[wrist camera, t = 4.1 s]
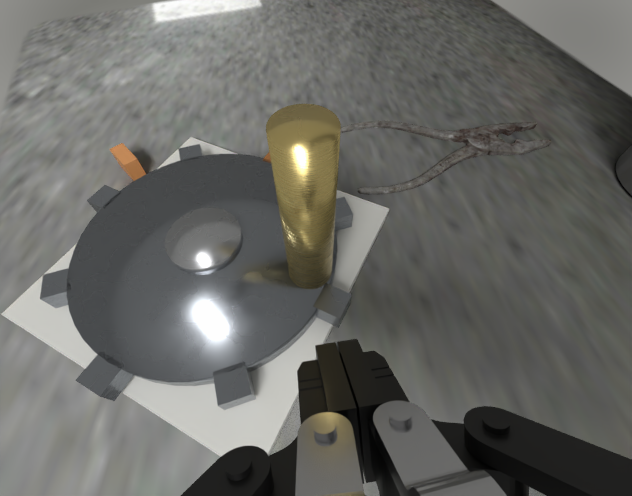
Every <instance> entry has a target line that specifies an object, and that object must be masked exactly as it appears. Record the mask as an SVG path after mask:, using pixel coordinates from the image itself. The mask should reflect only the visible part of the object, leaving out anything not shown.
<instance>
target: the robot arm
mask: <svg viewBox="0 0 632 496" xmlns="http://www.w3.org/2000/svg"><path fill="white" fill-rule="evenodd" d="M616 172H617V176H618V179H619V180H620V182H621V184H622V185H623V187H624V188H625V189H626V190H627V191H628V192H629V193H630V195H632V145H631V146H630V147H629V148H628V149H627V150H626V151H625V152H624V153H623V154H622V155H621V156H620V157H619V159H618V161H617V163H616ZM315 350H316V358H317V360H311V361H304V362H302V363H301V365H300V367H299V369H298V370H297V378H298V391H299V405H300V418H301V426H300V428H299V430H298V436H297V437H296V439H295V440H294V441H293V442H292V443H291V444H290V445H289V446H287V447H286V448H284V449H282V450H280V451H278V452H276V453H274V454H272V455H270V456H268V454H267V453H266V452H265V451H264V450H263V449H261V448H259V447H257V446H241V447H237V448H235V449H232V450H230V451H228V452H227V453H225V454H224V455H222V456H221V457H220V458H219V459H218V460H217V461H216V462H215V463H214V464H213V465H212V466H211V467H210V468H209V469H208V470H207V471H206V472H205V473H204V474H202V475H201V476H200V477H199V478H198V479H197V480H196V481H195V482H194V483H193V484H192V485H191V486H190V487H189V488H188V489H187V490H186V491H185V492H184V493H183V494H182V495H181V496H365V495H364V489H363V484H364V479H363V473H364V476H365V480H366V483H368V482H374V481H376V483H377V486H378V489H379V494H380V496H529V487H531V488H533V489H535V490H537V491H539V492H541V493H543V494H545V495H547V496H632V460H631V459H629V458H626V457H624V456H621V455H619V454H616V453H613V452H611V451H608V450H606V449H603V448H601V447H598V446H596V445H593V444H590V443H588V442H585V441H583V440H580V439H578V438H575V437H572V436H570V435H567V434H565V433H562V432H560V431H557V430H555V429H552V428H549V427H547V426H544V425H542V424H539V423H537V422H534V421H532V420H529V419H526V418H524V417H521V416H519V415H516V414H514V413H511V412H509V411H506V410H503V409H500V408H496V407H487V406H484V407H477V408H474V409H471V410H470V411H468V412H467V413H466V415H465V417H464V424H460V423H447V422H439V421H435V420H432V419H430V418H429V417H428V415H427V414H426V412H425V411H424V410H423V409H422V408H420V407H419V406H417V405H415V404H413V403H410V402H409V400H408V398H407V397H406V395H405V393H404V391H403V390H402V388H401V386H400V384H399V383H398V381H397V379H396V377H395V376H394V374H393V372H392V370H391V369H390V368H389V365H388V363H387V362H386V360H385V358H384V357H383V356H381V355H380V354H378V353H377V352H375V351H369V352H363V351H362V349H361V347H360V345H359V342H358V340H357V339H353V340H347V341H340V342H337V343H335V342H334V343H327V344H320V345H315Z"/></svg>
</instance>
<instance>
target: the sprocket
mask: <svg viewBox="0 0 632 496" xmlns="http://www.w3.org/2000/svg"><path fill="white" fill-rule="evenodd" d="M340 129H341V127H340V121H339V119H338V118H337V116H336V115H335V114H334V113H333V112H332V111H330V110H328V109H326V108H324V107H322V106H318V105H313V104H296V105H291V106H287V107H284V108H282V109H280V110H278V111H277V112H275V113H274V114H273V115H272V116H271V117H270V118H269V120H268V122H267V125H266V133H267V139H268V145H269V153H268V154H267V155H266V156H265V157H264V158H261V157H255V156H250V155H241V154H212V155H204V154H203V151H202V149H201V146H200V144H197V145H192V146H188V147H183V148H178V149H179V156H180V161H177V162H174V163H171V164H168V165H166V166H163V167H161V168H158V169H156V170H154V171H152V172H150V173H148V174H146V175H144V176H142V177H140V178H139V179H137V180H135V181H134V182H132V183H131V184H129V185H128V186H126V187H125V188H123V189H122V190H121V191H118V190H115V189H113V188H111V187H108V186H106V185H104V186H103V187H102V188H101V189H100V190H98V191H97V192H96V193H95V194H94V195H93V196H92V197H90V198H89V199H88V200H87V201H88V202H89V204H90V205H91V206H92V207H93V208H94V209H95V210H96V212H97V214H96V215H95V216H94V217H93V219H92V220H91V221H90V222H89V224H88V225H87V227H86V229H85V230H84V232H83V233H82V235H81V237H80V239H79V241H78V243H77V245H76V247H75V249H74V252H73V255H72V258H71V261H70V264H69V268H67V269H63V270H59V271H56V272H52V273H48V274H44V275H43V279H42V286H41V294H40V299H41V300H43V301H44V302H46V303H48V304H49V305H51V306H53V307H54V308H59V307H62V306H66V305H68V307H69V312H70V314H71V317H72V320H73V322H74V325H75V327H76V329H77V330H78V332H79V334H80V335H81V337H82V339H83V340H84V341H85V342H86V343H87V344H88V345H89V347H90V348H91V349H92V350H93V351H94V352H95V353H96V354H97V356H96V357H95V358H94V359H93V360H92V362H91V363H90V364H89V365H88V366H87V367H86V369H85V370H84V371H83V372H82V373H81V375H80V376H79V377H78V378H77V379H76V381H77V382H79V383H80V384H82V385H84V386H85V387H87V388H88V389H90V390H91V391H93V392H94V393H96V394H97V395H99V396H100V397H104V398H107V399H110V400H113V401H115V399H116V398H117V397H118V395H119V394H120V393H121V392H122V390H123V389H124V388H125V386H126V385H127V384H128V382H129V381H130V380H131V378H132V377H133V376H136V377H139V378H142V379H145V380H148V381H151V382H155V383H160V384H167V385H173V386H198V385H206V384H213V383H214V384H215V391H216V398H217V404H218V406H219V407H220V408H222V409H224V410H226V409H229V408H232V407H235V406H238V405H241V404H243V403H246V402H249V401H252V400H255V399H256V396H255V391H254V386H253V381H252V377H251V371H254V370H256V369H258V368H259V367H261V366H263V365H265V364H267V363H268V362H270V361H272V360H274V359H275V358H276V357H278V356H279V355H280V354H282V353H283V352H284V351H286V350H287V349H289V348H290V347H291V346H292V345H293V344H294V343H295V342H296V341H297V340H298V339H299V338H300V337H301V336H302V335H303V334H304V333H305V332H306V331H307V329H308V328H309V327H310V326H311V325H312V323H313V322H314V321H315V319H316V318H319V319H321V320H324V321H326V322H328V323H330V324H332V325H334V326H336V327H338V328H339V326H340V324H341V322H342V320H343V318H344V316H345V314H346V312H347V309H348V307H349V305H350V302H351V297H352V294H350V293H348V292H345V291H343V290H341V289H339V288H336V287H334V286H332V283H333V280H334V276H335V268H336V259H337V235H336V231H338V230H342V229H345V228H349V227H352V221H353V213H352V211H351V209H350V207H349V205H348V203H347V201H346V199H345V197H341V198H337V199H336V195H337V178H338V162H339V145H340Z"/></svg>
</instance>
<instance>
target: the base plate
mask: <svg viewBox="0 0 632 496" xmlns="http://www.w3.org/2000/svg"><path fill="white" fill-rule="evenodd" d="M197 144H200V146H201V149H202V151H203V154H204V155H212V154H236V153H234V152H231V151H228V150H225V149H223V148H220V147H217V146H214V145H211V144H209V143H206V142H203V141H200V140H198V139H195V138H192V137H190V138H189V139H188V140H187V141H186V142H185V143H184V144H183V145H182V146H181V147H180V148H183V147H188V146H192V145H197ZM110 151H111V152H112V154H113V155H114V157H115V158H116V160H117V161H118V163H119V164H120V166H121V167H122V168H123V169H124V171H125V172H126V173H127V174H128V175H129V176H130V177H131V179H132V180H133V181H135V180H137V179H139V178H140V177H142V176H144V175H146V173H145V171H144V169H143V168H142V166H141V164H140V163H139V161H138V159H137V158H136V157H135V156H134V155H133V154H132V153H131V152H130V151H129V150H128V149H127V147H126V146H125V145H124V144H123V143H121V144H119V145H117V146H115V147H113V148H111V149H110ZM177 161H180V156H179V149H178V150H177V151H175V152H174V153H173V154H172V155H171V156H170V157H169V158H168V159H167V160H166V161H165V162H164V163H163V164H162V165H161V166H159V167H158V168H161V167H163V166H166V165H168V164H171V163H174V162H177ZM158 168H157V169H158ZM341 197H345V199H346V201H347V203H348V205H349V207H350V209H351V211H352V213H353V221H352V227H349V228H345V229H342V230H338V231H336V235H337V259H336V268H335V276H334V280H333V283H332V286H334V287H336V288H339V289H341V290H343V291H345V292H348V293H350V291H351V289H352V287H353V285H354V283H355V281H356V279H357V277H358V275H359V273H360V271H361V269H362V266H363V264H364V262H365V260H366V258H367V256H368V254H369V252H370V250H371V248H372V246H373V244H374V242H375V240H376V238H377V236H378V234H379V232H380V230H381V228H382V226H383V224H384V222H385V220H386V218H387V216H388V213H389V208H386V207H383V206H380V205H378V204H375V203H372V202H369V201H367V200H364V199H361V198H358V197H356V196H353V195H350V194H347V193H344V192H342V191H339V190H337V195H336V199H337V198H341ZM76 245H77V244H76ZM76 245H75V246H74V247H73V248H72V249H71V250H70V251H68V252H67V253H66V254H65V255H64V256H63V257H62V258H61V259H60V260H59V261H58V262H57V263H56V264H55V265H53V266H52V267H51V268H50V269H49V270H48V271H47V272H46V273H45V274H48V273H52V272H56V271H59V270H63V269H67V268H69V264H70V261H71V258H72V255H73V252H74V249H75V247H76ZM42 279H43V276H42V277H41V278H40V279H38V280H37V281H36V282H35V283H34V284H33V285H32V286H31V287H30V288H29V289H28V290H27V291H26V292H25V293H23V294H22V295H21V296H20V297H19V298H18V299H17V300H16V301H15V302H14V303H13V304H12V305H11V306H10V307H8V308H7V309H6V310H5V311H4V312H3V313H2V314H1V315H3V316H5V317H6V318H8V319H9V320H11V321H12V322H14V323H15V324H17V325H18V326H20V327H22V328H23V329H25V330H26V331H28V332H29V333H31V334H32V335H34V336H35V337H37V338H39V339H40V340H42V341H43V342H45V343H46V344H48V345H49V346H51V347H52V348H54V349H56V350H57V351H59V352H60V353H62V354H63V355H65V356H66V357H68V358H69V359H71V360H73V361H74V362H76V363H77V364H79V365H80V366H82V367H83V368H85V369H86V367H87V366H88V365H89V364H90V363H91V362H92V360H93V359H94V358H95V357H96V356H97V354H96V353H95V352H94V351H93V350H92V349H91V348H90V347H89V345H88V344H87V343H86V342H85V341H84V340H83V339H82V337H81V335H80V334H79V332H78V330H77V329H76V327H75V325H74V322H73V320H72V317H71V314H70V312H69V307H68V305H66V306H62V307H59V308H54V307H53V306H51V305H49V304H48V303H46V302H44V301H43V300H41V299H40V294H41V286H42ZM332 327H333V325H332V324H330V323H328V322H326V321H324V320H321V319H319V318H316V319H315V321H314V322H313V323H312V325H311V326H310V327H309V328H308V329H307V331H306V332H305V333H304V334H303V335H302V336H301V337H300V338H299V339H298V340H297V341H296V342H295V343H294V344H293V345H292V346H291V347H290V348H289V349H287V350H286V351H284V352H283V353H282V354H280V355H279V356H278V357H276V358H275V359H274V360H272V361H270V362H268V363H267V364H265V365H263V366H261V367H259V368H258V369H256V370H254V371H251V377H252V381H253V386H254V391H255V396H256V399H255V400H252V401H249V402H246V403H243V404H241V405H238V406H235V407H232V408H229V409H226V410H224V409H222V408H220V407H219V406H218V404H217V398H216V391H215V384H214V383H213V384H206V385H198V386H173V385H167V384H160V383H155V382H151V381H148V380H145V379H142V378H139V377H136V376H133V377H132V378H131V380H130V381H129V382H128V384H127V385H126V386H125V388H124V389H123V390H122V393H124V394H125V395H127V396H128V397H130V398H131V399H133V400H134V401H136V402H137V403H139V404H141V405H142V406H144V407H145V408H147V409H148V410H150V411H151V412H153V413H154V414H156V415H158V416H159V417H161V418H162V419H164V420H165V421H167V422H168V423H170V424H171V425H173V426H175V427H176V428H178V429H179V430H181V431H182V432H184V433H185V434H187V435H188V436H190V437H192V438H193V439H195V440H196V441H198V442H199V443H201V444H202V445H204V446H205V447H207V448H209V449H210V450H212V451H213V452H215V453H216V454H218V455H219V456H222V455H224V454H225V453H227V452H228V451H230V450H232V449H235V448H237V447H241V446H257V447H259V448H261V449H263V450H264V451H265V452H266V453H267V454H268V456H269V455H270V453H271V451H272V449H273V447H274V445H275V443H276V441H277V439H278V437H279V435H280V433H281V431H282V429H283V427H284V425H285V423H286V421H287V419H288V417H289V415H290V413H291V411H292V408H293V406H294V404H295V402H296V400H297V398H298V396H299V391H298V378H297V370H298V369H299V367H300V365H301V363H302V362H304V361H311V360H317V358H316V350H315V345H320V344H325V342H326V340H327V337H328V335H329V333H330V331H331V329H332Z"/></svg>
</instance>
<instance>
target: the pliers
mask: <svg viewBox="0 0 632 496" xmlns="http://www.w3.org/2000/svg"><path fill="white" fill-rule="evenodd" d="M536 124H537V123H536V122H527V123H503V124H494V125H487V126H481V127H477V128H473V129H460V130H459V131H445V130H438V129H432V128H427V127H422V126H417V125H412V124H407V123H401V122H393V121H372V122H362V123H356V124H351V125H347V126H344V127H341V129H340V132H342V133H343V132H348V131H352V130H357V129H364V128H391V129H398V130H403V131H407V132H412V133H416V134H420V135H424V136H427V137H431V138H436V139H440V140H447V141H454V142H464V143H466V144H467V145H466V146H465V147H463V148H461V149H459V150H457V151H455V152H453V153H451V154H450V155H448V156H447V157H445V158H444V159H443V160H441V161H440V162H439V163H438V164H436V165H435V166H434V167H432V168H431V169H430V170H428V171H427V172H425V173H424V174H422V175H421V176H419V177H417V178H415V179H413V180H411V181H408V182H405V183H401V184H397V185H392V186H387V187H365V188H359V189H358V192H359V193H361V194H386V193H394V192H400V191H404V190H408V189H412V188H415V187H418V186H420V185H423V184H425V183H426V182H428V181H430V180H432V179H433V178H435V177H436V176H438V175H439V174H441V173H442V172H444V171H446V170H447V169H449V168H450V167H452V166H453V165H455V164H457V163H459V162H461V161H463V160H465V159H469V158H472V157H478V156H483V155H487V154H488V155H522V154H525V153H528V152H531V151H534V150H537V149H540V148H544V147H547V146H549V144H550V143H551V140H533V141H530V142H528V141H524V140H515V142H514V143H512V144H510V143H506V142H505V141H503V140H502V139H498V138H497V137H498V135H499V134H498V133H503V134H505V135H507V136H508V135H511V134H512V133H513V132H515V131H525V130H529V129H532V128H535V126H536Z"/></svg>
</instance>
